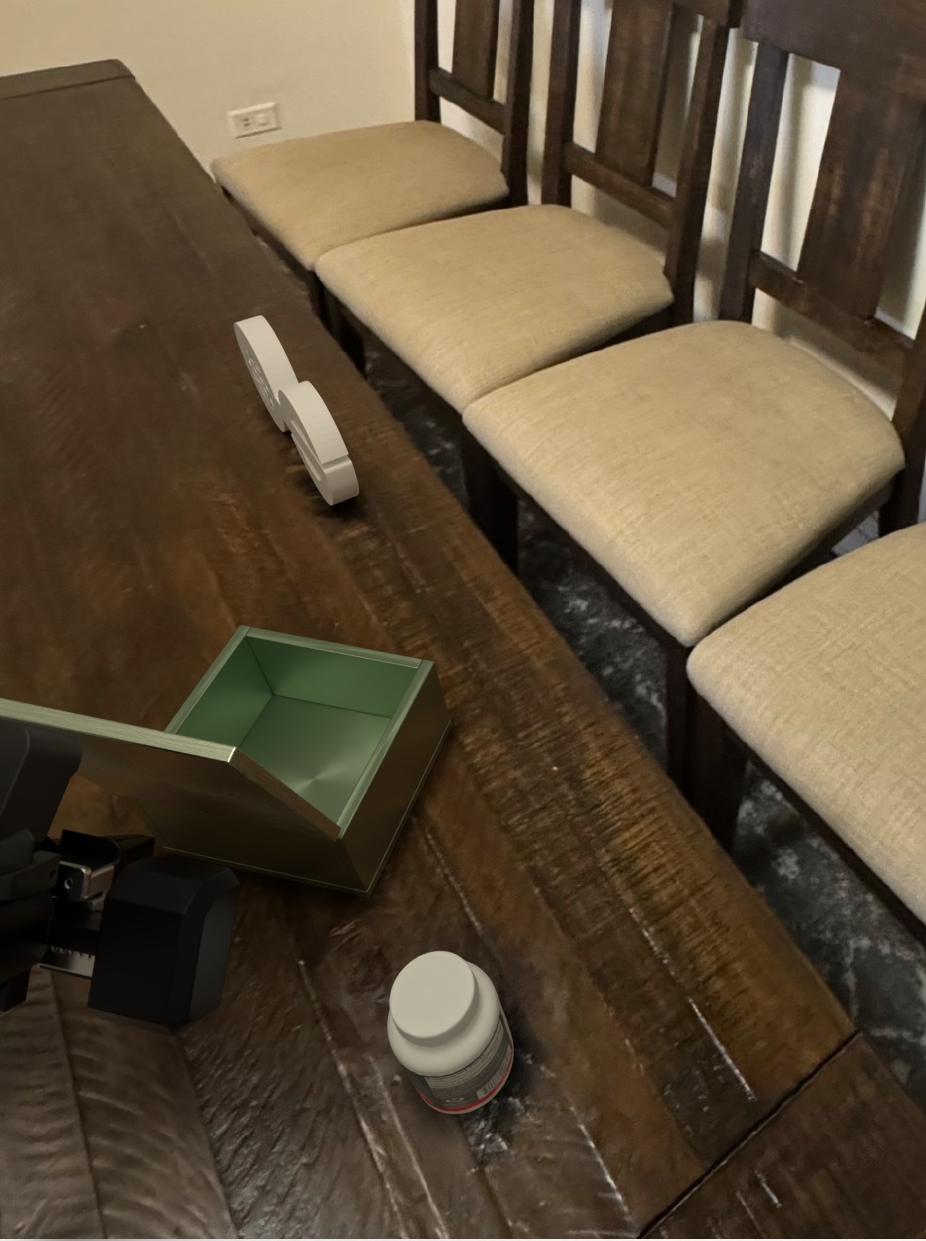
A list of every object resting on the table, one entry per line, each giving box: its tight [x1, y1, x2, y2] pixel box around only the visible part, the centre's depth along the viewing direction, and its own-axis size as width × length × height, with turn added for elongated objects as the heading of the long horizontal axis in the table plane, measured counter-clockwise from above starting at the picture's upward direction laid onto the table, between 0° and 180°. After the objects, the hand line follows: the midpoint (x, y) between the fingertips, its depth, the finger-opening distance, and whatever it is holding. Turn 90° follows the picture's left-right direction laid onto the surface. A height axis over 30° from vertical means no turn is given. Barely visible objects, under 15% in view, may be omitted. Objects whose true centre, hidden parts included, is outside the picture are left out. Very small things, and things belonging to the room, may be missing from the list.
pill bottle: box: [386, 950, 515, 1115], centre depth 51 cm, size 5×5×10 cm
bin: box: [123, 624, 453, 899], centre depth 63 cm, size 13×14×7 cm
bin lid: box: [0, 697, 341, 841], centre depth 50 cm, size 13×14×1 cm
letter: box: [233, 314, 360, 506], centre depth 86 cm, size 22×2×10 cm, turn 36°
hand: (147, 845), depth 50 cm, fingers closed
